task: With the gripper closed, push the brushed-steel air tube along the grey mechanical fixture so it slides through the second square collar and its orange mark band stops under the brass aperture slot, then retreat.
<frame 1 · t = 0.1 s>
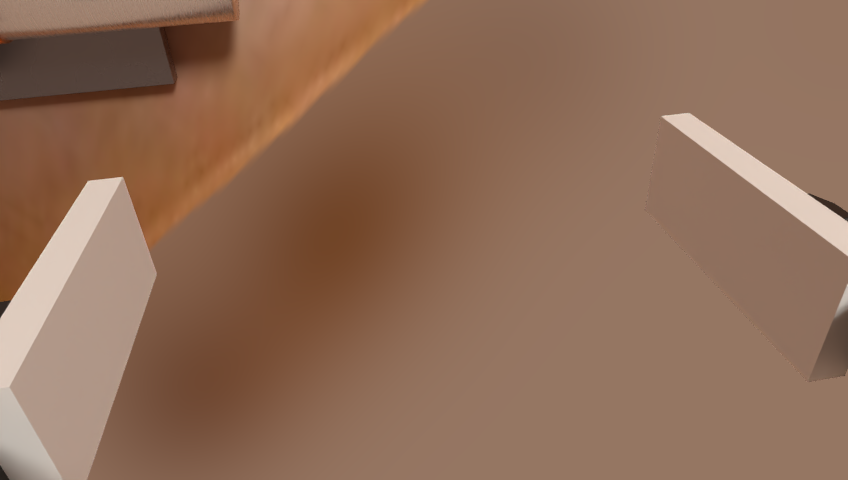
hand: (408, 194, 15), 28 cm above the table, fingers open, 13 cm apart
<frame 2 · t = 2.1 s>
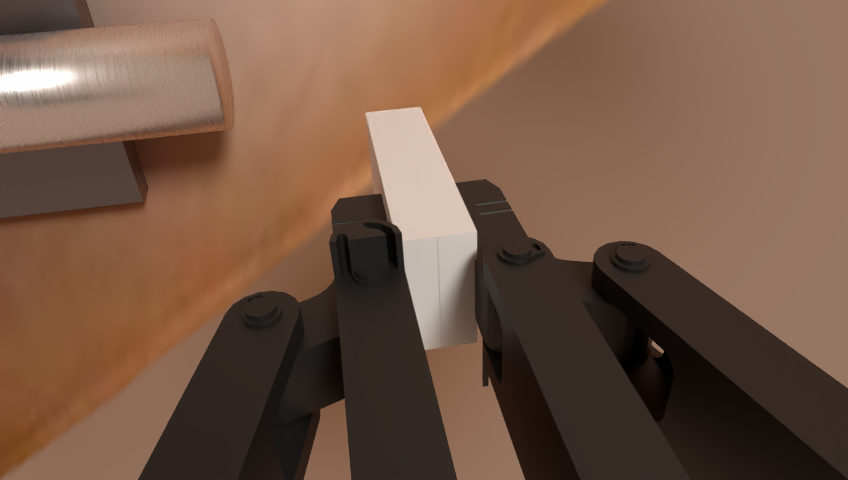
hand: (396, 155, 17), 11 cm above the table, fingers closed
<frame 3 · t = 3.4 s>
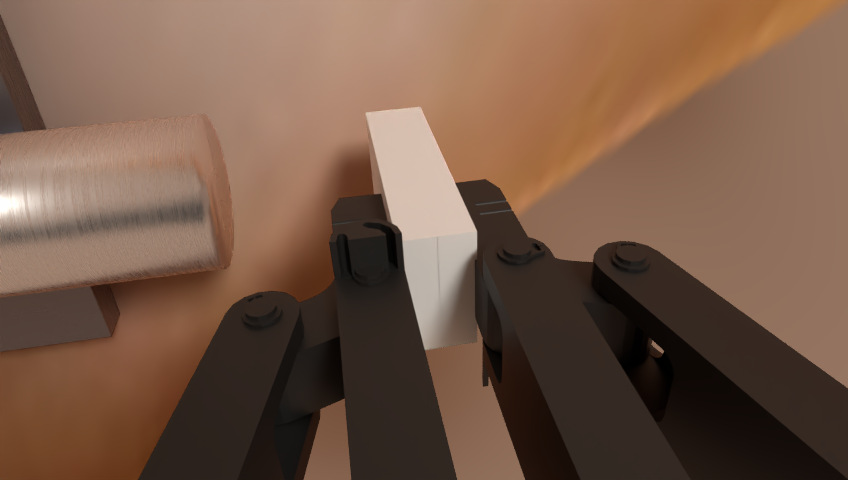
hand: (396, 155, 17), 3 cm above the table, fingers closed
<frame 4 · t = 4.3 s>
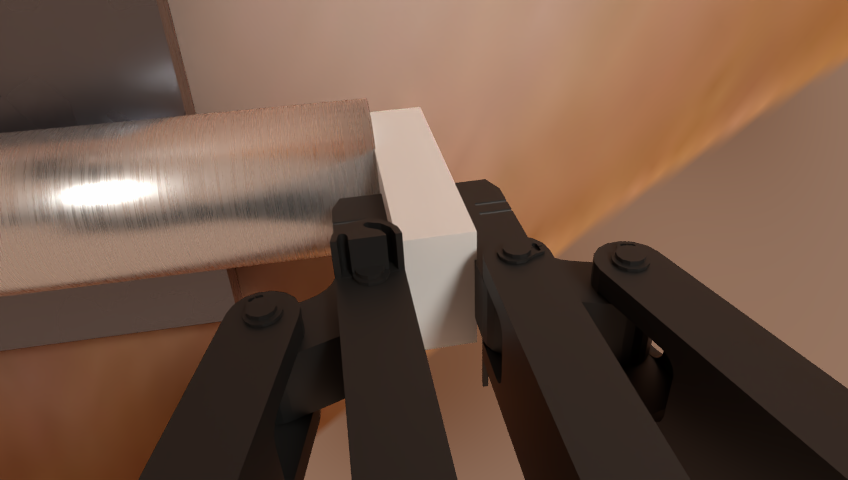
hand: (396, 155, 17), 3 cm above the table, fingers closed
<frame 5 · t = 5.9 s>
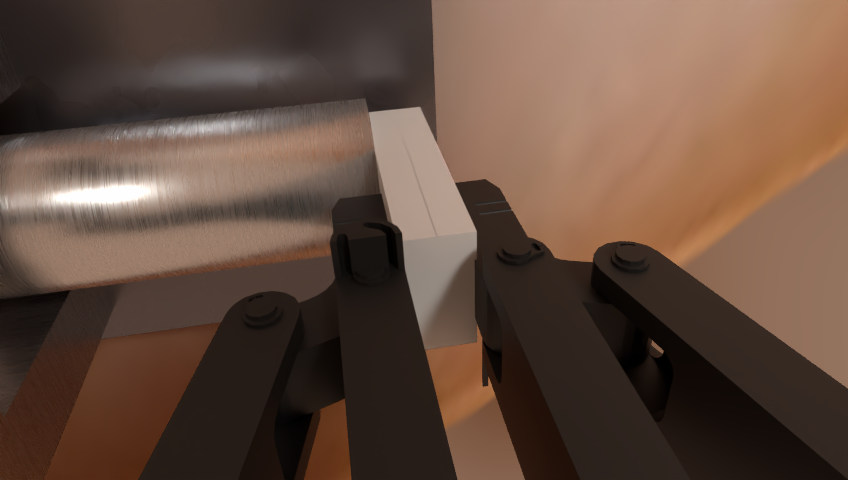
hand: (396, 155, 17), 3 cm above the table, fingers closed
grey mechanical fixture: (30, 161, 18), on the table
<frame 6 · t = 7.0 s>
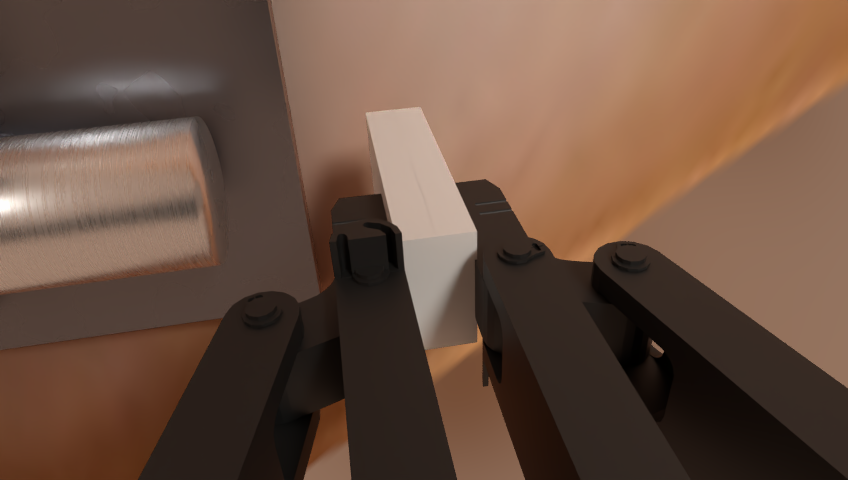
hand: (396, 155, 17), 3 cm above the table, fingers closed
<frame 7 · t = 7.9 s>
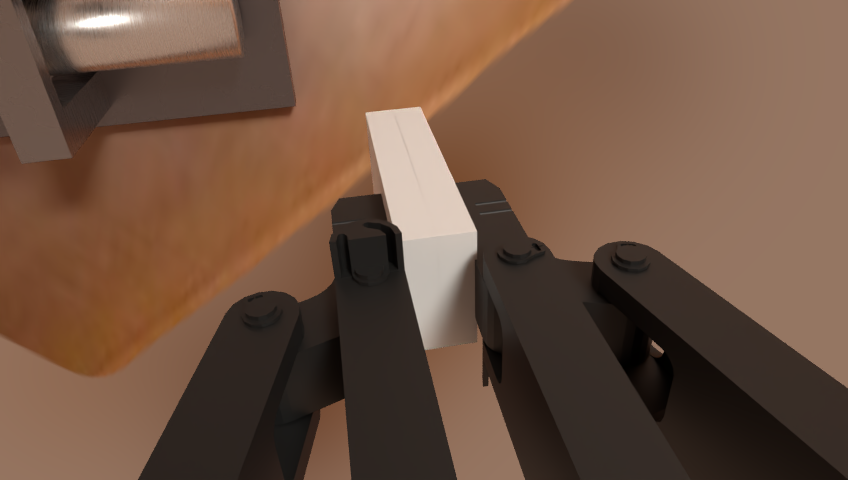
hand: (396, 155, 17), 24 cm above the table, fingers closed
grey mechanical fixture: (68, 20, 35), on the table
air tube: (43, 36, 33), point 4 cm above the table, slide at 7.2 cm
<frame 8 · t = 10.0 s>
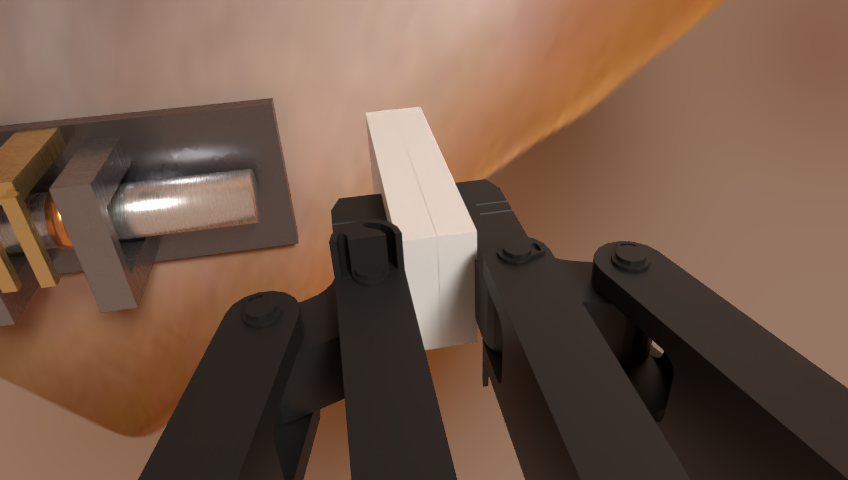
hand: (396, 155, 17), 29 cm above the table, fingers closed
grey mechanical fixture: (128, 189, 47), on the table
air tube: (113, 212, 44), point 4 cm above the table, slide at 7.2 cm
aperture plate: (73, 196, 47), resting on grey mechanical fixture
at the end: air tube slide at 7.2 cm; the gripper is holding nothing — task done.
